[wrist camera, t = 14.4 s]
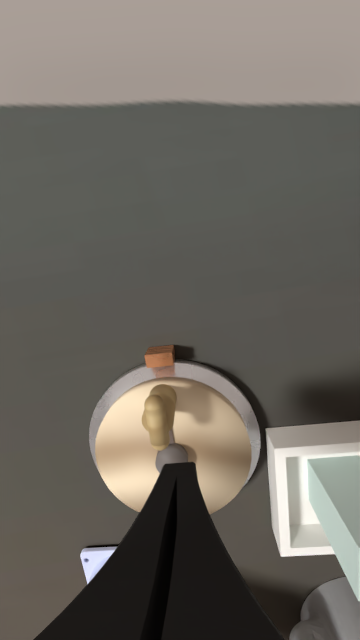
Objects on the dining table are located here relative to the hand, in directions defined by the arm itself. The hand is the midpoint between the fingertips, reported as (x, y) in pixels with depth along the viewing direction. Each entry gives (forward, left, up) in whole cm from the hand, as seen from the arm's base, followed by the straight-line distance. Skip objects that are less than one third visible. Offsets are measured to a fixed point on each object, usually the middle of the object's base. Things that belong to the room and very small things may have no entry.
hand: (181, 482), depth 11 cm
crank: (-5, +2, -9) cm, 10 cm away
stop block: (-10, -11, -10) cm, 18 cm away
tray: (-10, -11, -10) cm, 18 cm away
